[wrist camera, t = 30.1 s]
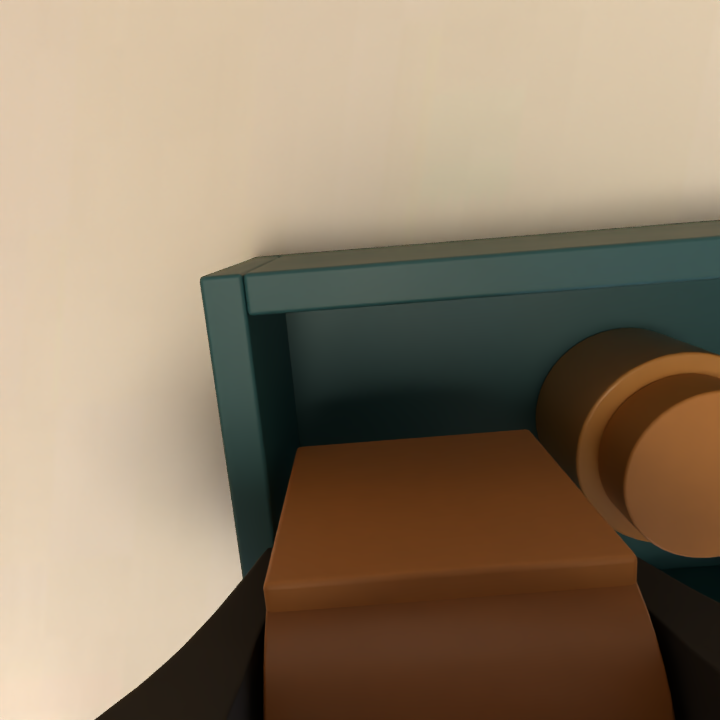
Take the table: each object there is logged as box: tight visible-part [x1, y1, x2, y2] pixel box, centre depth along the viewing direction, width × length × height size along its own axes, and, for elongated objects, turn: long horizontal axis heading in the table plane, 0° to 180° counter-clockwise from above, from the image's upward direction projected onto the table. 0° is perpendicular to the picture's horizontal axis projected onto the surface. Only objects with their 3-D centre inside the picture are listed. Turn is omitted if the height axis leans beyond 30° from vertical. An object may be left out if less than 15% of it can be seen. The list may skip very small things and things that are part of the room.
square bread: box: [263, 429, 675, 720], centre depth 10 cm, size 5×5×6 cm
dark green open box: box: [200, 220, 720, 603], centre depth 15 cm, size 15×12×6 cm
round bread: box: [536, 328, 720, 558], centre depth 15 cm, size 5×5×5 cm
